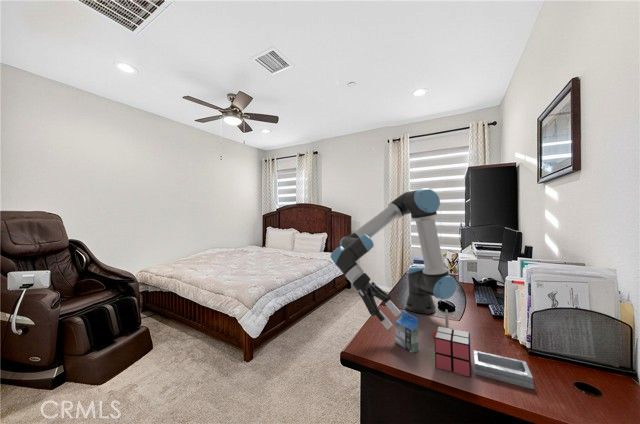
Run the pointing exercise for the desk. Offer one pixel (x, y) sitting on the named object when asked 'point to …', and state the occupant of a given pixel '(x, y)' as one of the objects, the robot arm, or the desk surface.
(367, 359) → the desk surface
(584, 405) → the desk surface
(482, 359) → the rail tray
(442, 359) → the puzzle cube
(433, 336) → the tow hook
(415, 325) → the label tape box
